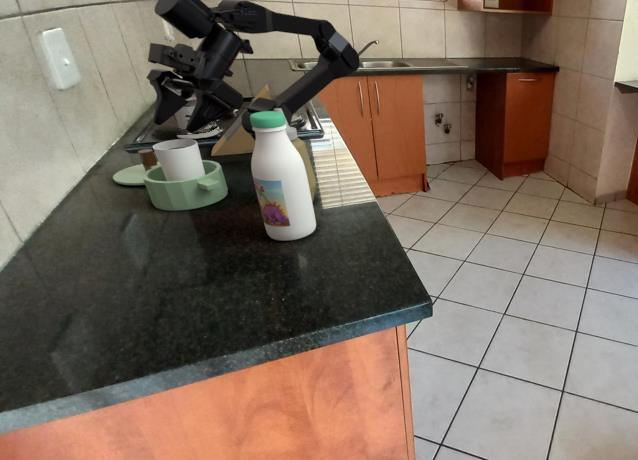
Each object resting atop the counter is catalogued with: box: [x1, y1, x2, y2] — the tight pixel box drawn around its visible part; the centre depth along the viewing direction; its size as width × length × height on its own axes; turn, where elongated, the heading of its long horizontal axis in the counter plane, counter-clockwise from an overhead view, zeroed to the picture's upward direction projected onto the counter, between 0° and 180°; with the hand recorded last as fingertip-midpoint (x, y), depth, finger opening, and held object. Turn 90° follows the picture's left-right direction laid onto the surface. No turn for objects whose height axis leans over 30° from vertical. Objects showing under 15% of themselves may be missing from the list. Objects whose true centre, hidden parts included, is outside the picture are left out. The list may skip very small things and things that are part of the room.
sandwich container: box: [211, 83, 272, 157], centre depth 106 cm, size 9×15×15 cm, turn 118°
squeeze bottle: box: [274, 108, 317, 202], centre depth 79 cm, size 8×8×18 cm
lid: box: [112, 148, 160, 186], centre depth 89 cm, size 13×13×6 cm
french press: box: [164, 34, 220, 140], centre depth 113 cm, size 10×12×25 cm
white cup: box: [152, 138, 205, 181], centre depth 80 cm, size 7×7×10 cm
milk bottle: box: [250, 111, 317, 242], centre depth 68 cm, size 8×8×20 cm
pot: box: [142, 159, 229, 212], centre depth 81 cm, size 12×17×6 cm
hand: (172, 127), depth 77 cm, fingers open, 9 cm apart
